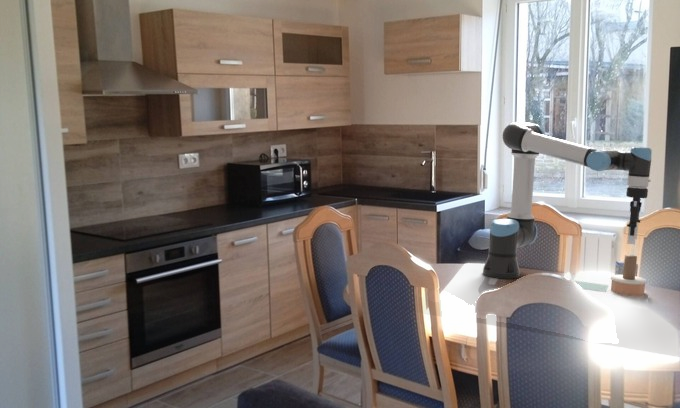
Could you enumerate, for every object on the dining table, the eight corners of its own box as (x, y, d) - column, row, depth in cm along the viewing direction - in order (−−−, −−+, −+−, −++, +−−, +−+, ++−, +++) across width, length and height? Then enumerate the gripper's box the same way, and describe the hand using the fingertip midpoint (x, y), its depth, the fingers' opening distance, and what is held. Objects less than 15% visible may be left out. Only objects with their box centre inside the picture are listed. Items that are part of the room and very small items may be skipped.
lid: (609, 281, 269) (611, 256, 268) (612, 275, 281) (614, 251, 279) (645, 286, 264) (648, 260, 262) (647, 279, 275) (649, 255, 274)
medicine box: (633, 282, 292) (635, 261, 291) (636, 284, 288) (638, 264, 287) (613, 280, 293) (615, 260, 292) (616, 283, 289) (618, 262, 288)
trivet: (570, 288, 276) (570, 287, 276) (575, 282, 287) (575, 280, 287) (605, 293, 270) (605, 292, 270) (608, 286, 282) (608, 285, 282)
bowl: (609, 293, 270) (610, 281, 269) (612, 287, 281) (613, 275, 280) (643, 298, 265) (644, 285, 264) (644, 291, 276) (645, 279, 275)
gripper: (646, 190, 255) (641, 247, 257) (649, 185, 277) (643, 237, 280) (625, 188, 258) (619, 244, 261) (629, 184, 280) (623, 235, 283)
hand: (632, 241), depth 270 cm, fingers open, 13 cm apart
